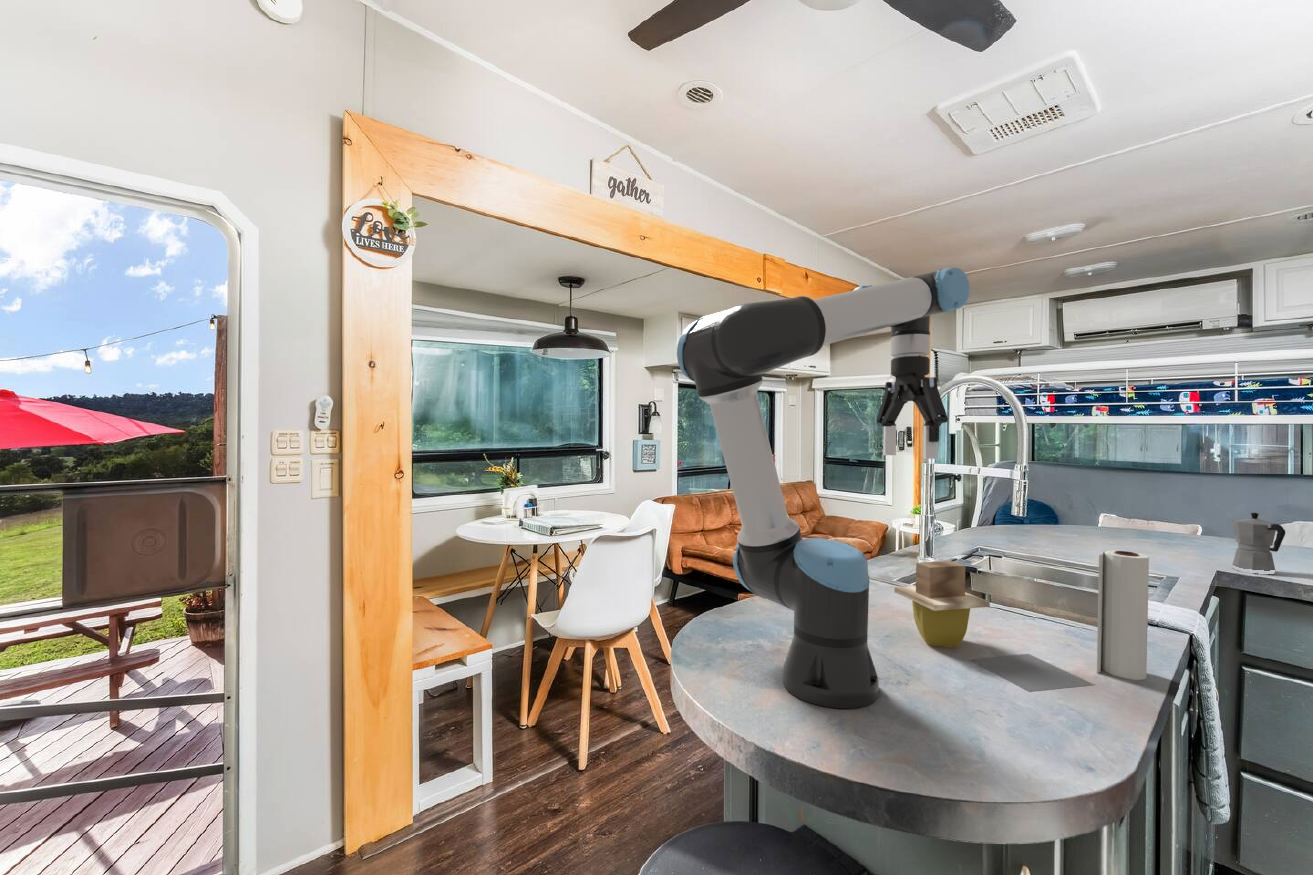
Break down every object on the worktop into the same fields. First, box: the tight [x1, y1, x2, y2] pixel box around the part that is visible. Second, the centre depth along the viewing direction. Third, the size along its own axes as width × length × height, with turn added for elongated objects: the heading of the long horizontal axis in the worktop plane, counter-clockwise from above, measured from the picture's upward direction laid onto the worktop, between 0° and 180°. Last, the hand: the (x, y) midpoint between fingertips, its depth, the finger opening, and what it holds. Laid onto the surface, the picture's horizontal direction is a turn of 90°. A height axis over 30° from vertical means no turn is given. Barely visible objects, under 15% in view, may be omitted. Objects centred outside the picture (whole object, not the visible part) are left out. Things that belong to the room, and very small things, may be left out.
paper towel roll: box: [1096, 550, 1150, 681], centre depth 98 cm, size 7×6×21 cm
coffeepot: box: [1231, 512, 1286, 571], centre depth 170 cm, size 15×9×18 cm, turn 175°
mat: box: [968, 653, 1096, 693], centre depth 98 cm, size 13×13×1 cm
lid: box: [894, 560, 991, 611], centre depth 111 cm, size 12×12×7 cm
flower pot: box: [911, 600, 971, 649], centre depth 111 cm, size 9×9×9 cm
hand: (908, 457), depth 119 cm, fingers open, 13 cm apart
